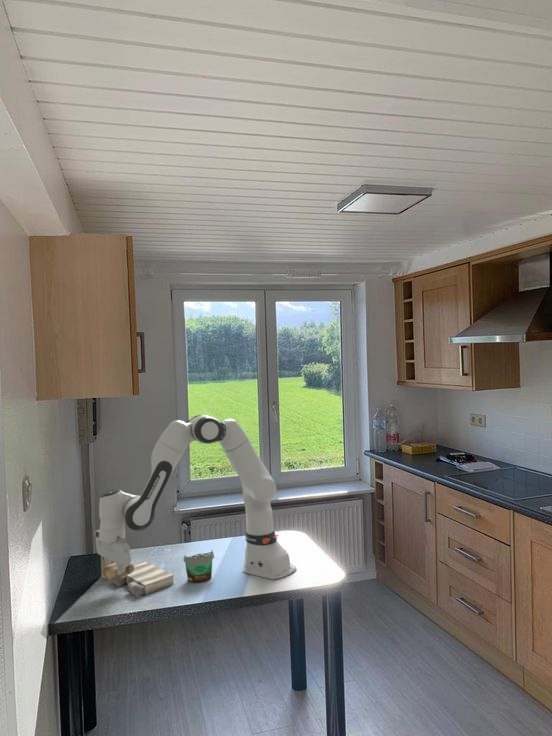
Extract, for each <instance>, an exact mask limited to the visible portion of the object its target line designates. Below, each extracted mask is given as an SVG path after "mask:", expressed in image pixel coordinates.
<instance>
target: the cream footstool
mask: <svg viewBox="0 0 552 736" xmlns="http://www.w3.org/2000/svg"><path fill="white" fill-rule="evenodd" d="M133 566H134V570H133V572H132V573H131V574H128V575H125V576H123V577H120V578H117V579H114V580H111V581H110V582H111V583H112V584H115V585H116V586H118V587H122V586H123V585H124V584H127V588H126V589H127V592H128V593H130V594H132V595H133V596H135V597H136V598H140V597H142V596H143V595H148V593H149V594H151V593H153V592H156V591H159V590H161V589H164V588H167V587H169V586H172V585H174V574H173V573H170V572H169V571H166V570H164V569H162V568H160V567H158V566H156V565H154V564H153V563H150V562H147V561H144V562H142V563H138V564H135V565H133Z"/></svg>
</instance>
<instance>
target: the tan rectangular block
mask: <svg viewBox="0 0 552 736" xmlns="http://www.w3.org/2000/svg"><path fill="white" fill-rule="evenodd" d="M134 566H135V565H134V564H133V563H130V564H128V565H126V566H123V568H122V574H120V575H117V574H116V569H117V564H116V563H113V564H110V565H107V566H104V567H101V566H100V568H101V571H102V572H101V578H102V577H103V579H104V578H105V580H107V581H108V582H111V580H114V579H117V578H120V577H123V576H125V575H128V574H131V573H132V572H133V570H134Z"/></svg>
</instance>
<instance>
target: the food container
mask: <svg viewBox="0 0 552 736" xmlns="http://www.w3.org/2000/svg"><path fill="white" fill-rule="evenodd" d="M213 559H215V553H214V550H211V551H209V552H206V553H197V554H194V555H192V556H191V555H190V556H186V555H184V557H183V562H184V563H185V570H186V577H187V582H188V583H193V584H202V583H206V582H209V581H210V580H211V579H212V571H213V570H212V569H213Z"/></svg>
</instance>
